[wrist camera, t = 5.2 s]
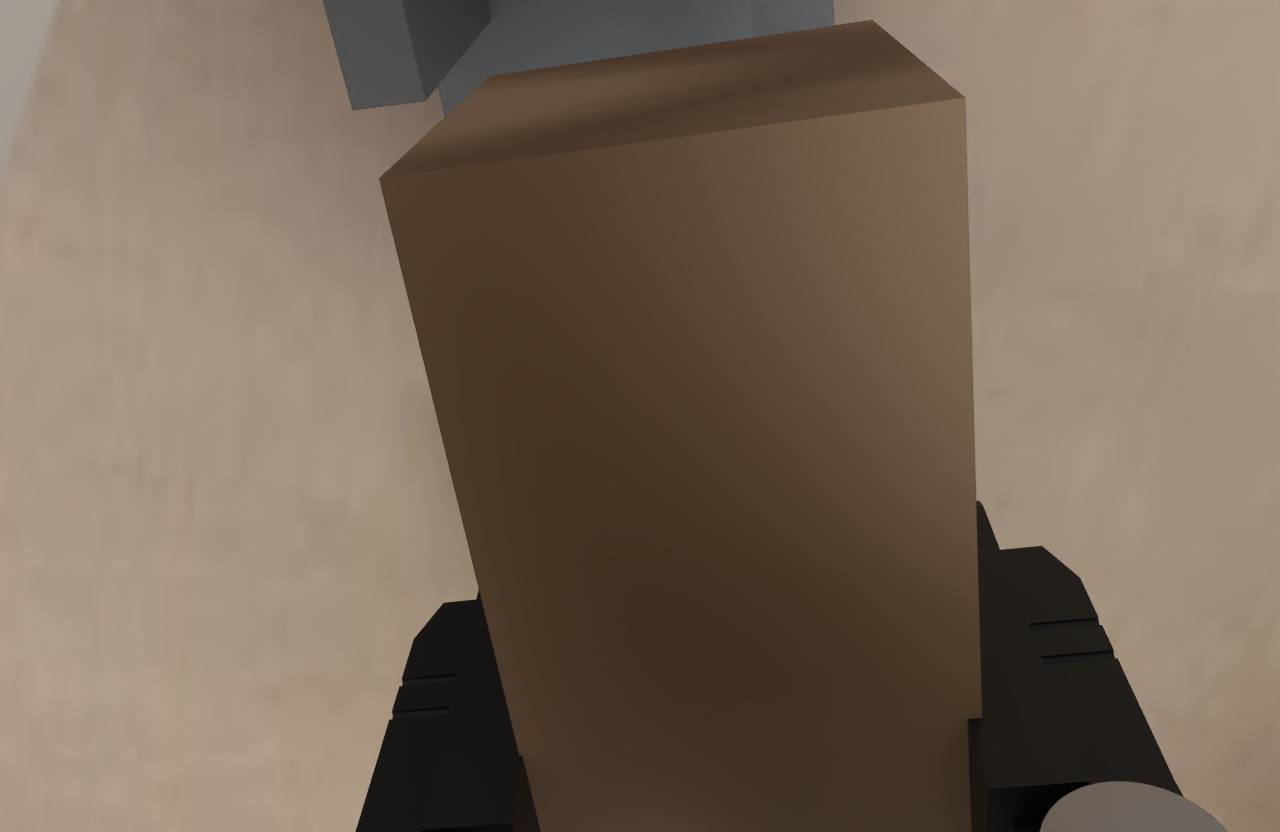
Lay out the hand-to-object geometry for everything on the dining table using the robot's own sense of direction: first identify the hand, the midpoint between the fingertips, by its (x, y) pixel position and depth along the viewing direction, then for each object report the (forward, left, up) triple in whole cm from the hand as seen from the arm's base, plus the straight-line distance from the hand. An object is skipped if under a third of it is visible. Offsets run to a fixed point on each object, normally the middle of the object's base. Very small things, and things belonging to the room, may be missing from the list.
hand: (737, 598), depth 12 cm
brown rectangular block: (0, 0, -1) cm, 1 cm away
